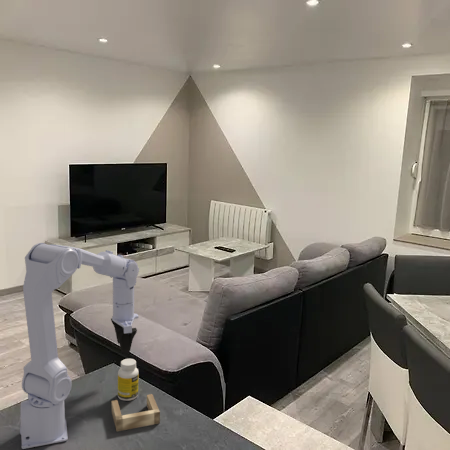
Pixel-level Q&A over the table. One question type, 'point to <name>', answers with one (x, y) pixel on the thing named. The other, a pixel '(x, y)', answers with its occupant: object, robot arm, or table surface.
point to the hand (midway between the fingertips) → (123, 347)
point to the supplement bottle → (128, 380)
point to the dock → (136, 416)
